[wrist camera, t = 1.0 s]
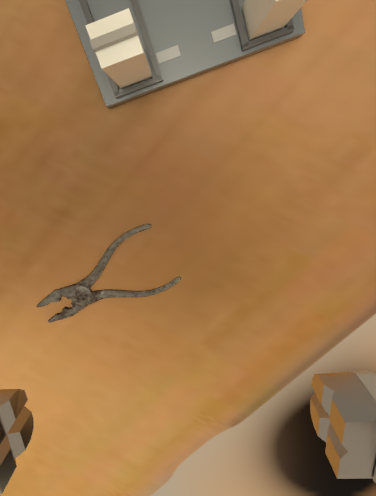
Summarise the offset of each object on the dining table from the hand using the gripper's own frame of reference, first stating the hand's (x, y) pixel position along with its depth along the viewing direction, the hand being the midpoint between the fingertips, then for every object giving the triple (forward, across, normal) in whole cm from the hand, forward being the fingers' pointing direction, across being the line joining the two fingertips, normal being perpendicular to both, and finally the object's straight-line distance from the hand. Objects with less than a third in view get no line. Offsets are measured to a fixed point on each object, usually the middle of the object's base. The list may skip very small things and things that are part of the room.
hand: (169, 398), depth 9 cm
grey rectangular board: (+31, +1, +20) cm, 37 cm away
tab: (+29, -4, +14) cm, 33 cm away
